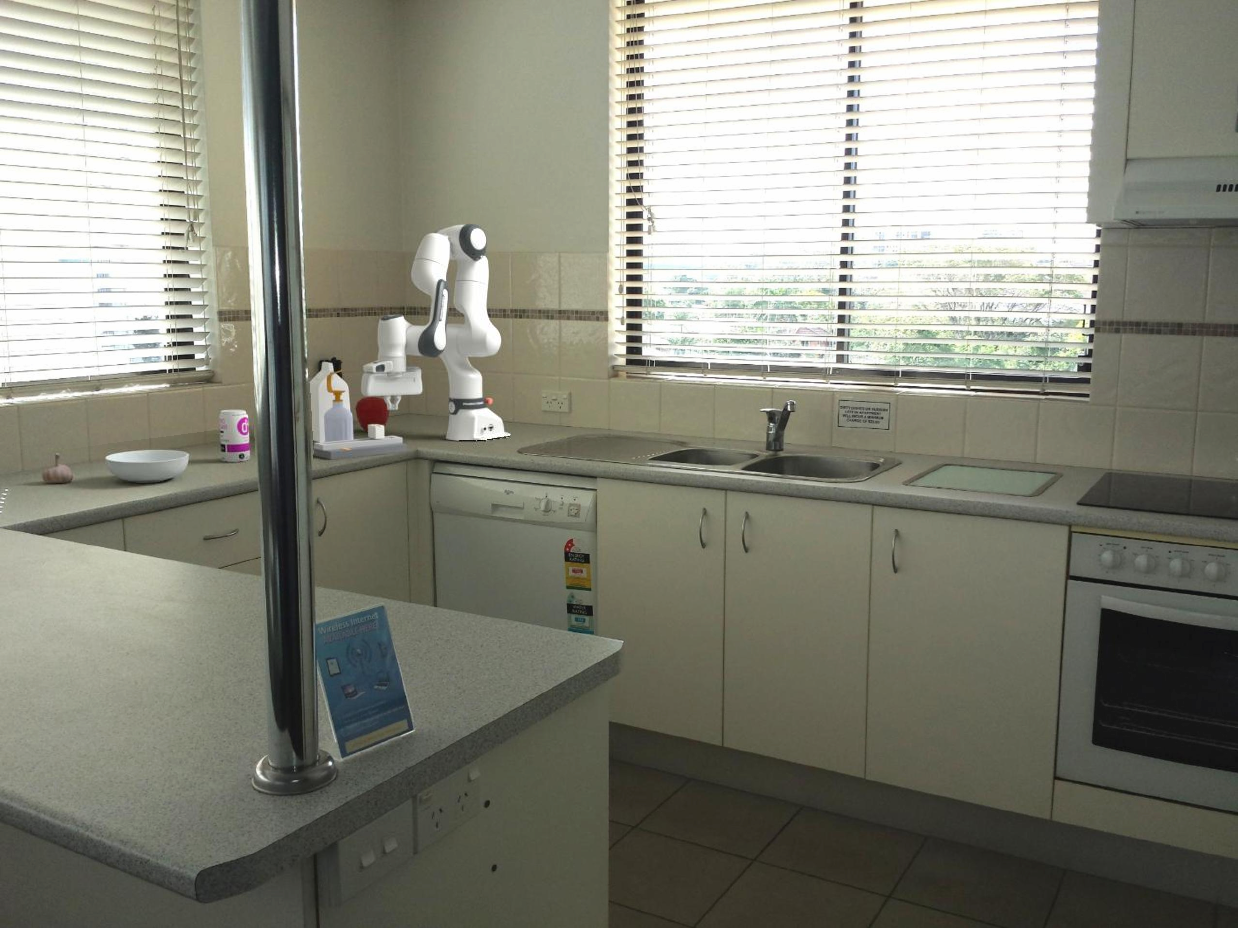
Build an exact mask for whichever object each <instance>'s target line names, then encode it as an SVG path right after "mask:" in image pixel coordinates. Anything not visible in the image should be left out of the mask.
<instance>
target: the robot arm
mask: <svg viewBox="0 0 1238 928" xmlns="http://www.w3.org/2000/svg"><path fill="white" fill-rule="evenodd" d="M487 239H488V238H487V234H486V232H485V230H484V229H483V227H482V226H481V225H477V224H474V223H467V224H456V225H452V226H449V227H446V228H439V229H438V230H435V231H434V232H432V233H428V234H425V236H424V237H423V238H422V239H421V242H420V244H419V246H418V249H417V251H416V254H415V257H414V260H413V263H412V268H411V274H410V277H411V281H412V283H413V284H414V286H415V287H416V288H418V290H420V291H421V292H423V293H424V294H426V295H428V296H430V299H431V304H430V305H431V306H430V313H429V320H428V321H429V322H427V324H426V325H414V324H412V323H410V322H409V321H407V320H406V319H405V317H404V315H403V314H398V313H396V314H393V313H392V314H386V315H384V316H382V317H380V318H379V322H378V326H377V346H378V353H377V360H375V361H372V362H369V363H367V364H366V363H365V364H364V365H363V366H362V367H363V368H362V369H363V372H364V373H363V374H362V376H361V382H360V383H361V384H360V391H361V394H362V395H363V396H364V397H372V396H373V397H381V396H383V399H384V400H385V402H386V404H387V409H388V410H389V411H393V410H395V411H396V410H398V409H399V403H400V402H401V400H402V396H411V395H421V394H422V393H423V381H422V369H421V368H420V367H419V366H417V365H407V356H419V357H420V356H421V357H427V358H438V357H440V359H441V361H443V364H444V365H445V368H446V371H447V374H448V376H447V377H448V382H449V385H448V387H449V397H448V413H449V417H448V418H449V419H448V428H447V432H446V436H445V439H446V440H449V441H450V440H451V441H459V440H476V441H475V442H478V441H477V440H486V441H488V440H487V439H492V438H497V437H504V436H510V435H511V433H509V432H507V431H505V425H504V422H503V420H502V418H501V417H500V416H499V415H497V413H494V412H493V411H492V410H490V409H489V407H488V405H492V404H493V403H494V400H492V398H491V397H488V398H485V397H484V396H483V376H482V374H481V371H479V370H478V369H476V368H475V367H473V366H472V364H471V363H470V361H469V357H470V358H471V357H472V358H473V357H474V358H485V357H491V356H494V355H496V354H497V353H498V352H499V350H500V348H501V345H502V337H501V334H500V332H499V330H498V329H497V328H496V326H494V324H493V323H492V322H491V321H490V320H491V319H490V318H489V315H488V311H487V308H488V307H487V300H488V290H489V289H488V288H489V280H490V279H489V278H490V277H489V276H490V275H489V272H490V270H489V260H488V258H487V256H485V255H486V253H487V247H488V245H487V244H488V240H487ZM450 260H451V261H452V260H453V261H454V260H455V261H456V263H457V271H456V276H455V283H454V285H455V286H454V291H453V301H452V302H453V306H454V307H455V309H456V310H457V311H458V312H460V313H461V314H463V315H464V323H448V319H449V318H448V317H449V308H450V299H451V288H450V284H449V282H447V272H448V268H449V263H450ZM392 396H393V398H394V401H393V403H392V401H391V399H392V398H391V397H392Z"/></svg>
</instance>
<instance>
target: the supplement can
mask: <svg viewBox="0 0 1238 928" xmlns="http://www.w3.org/2000/svg"><path fill="white" fill-rule="evenodd" d="M218 422H219V439H220V459H221V460H222V461H223V462H224V461H227V462H226V463H231V462H234V463H240V462H239V461H245V462H247V460H248V461H249V460H250V458H251V450H250V447H251V446H250V430H249V415H248V413H247V412H246V410H245V409H225V410H224V409H223V410H220V414H219V416H218Z"/></svg>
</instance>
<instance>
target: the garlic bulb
mask: <svg viewBox="0 0 1238 928" xmlns="http://www.w3.org/2000/svg"><path fill="white" fill-rule="evenodd" d="M60 456H61V455H60V454H59V453H55V458H54V459H55V461H54V462H55V464H54V465H53V466H51V467H49V468H47V469H45V470H44V471H43V473H42V476H41V478H42V480H43V481H44V483H46V484H61V483H62V484H63V483H64V484H68V483H69V484H70V483H71V482H72V481H73V479H74V478H73V477H74V475H73V472H72V469H71V468H70V467H69V466H68V465H66V464H61V459H60V458H61V457H60Z"/></svg>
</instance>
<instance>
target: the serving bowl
mask: <svg viewBox="0 0 1238 928" xmlns="http://www.w3.org/2000/svg"><path fill="white" fill-rule="evenodd" d="M189 457H190V454H189V453H187V452H185V451H181V450H173V449H172V450H171V449H145V450H142V449H141V450H132V451H123V452H117V453H116V452H115V453H112V454H109V455H107V456H105V458H104V461H105V465H106V468H107V469H108V471H109V472H110V473H111V474H112V476H114V477H116V478H118V479H120V480H124V481H128V482H131V483H134V482H135V484H149V483H150V484H153V482H154V483H160V481H161V482H164V480H165V481H167V480H170V479H173V478H175V477H177V476H180V475H181V474H182V473H183V472H184V471H185V469H186V468H187V466H188V464H189Z"/></svg>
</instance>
